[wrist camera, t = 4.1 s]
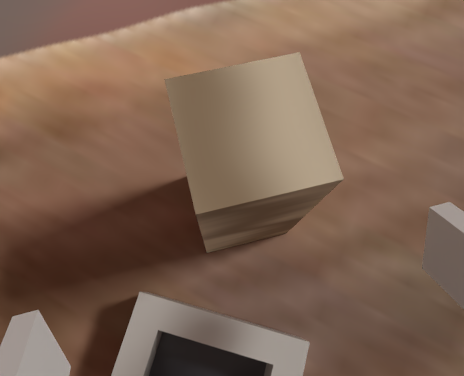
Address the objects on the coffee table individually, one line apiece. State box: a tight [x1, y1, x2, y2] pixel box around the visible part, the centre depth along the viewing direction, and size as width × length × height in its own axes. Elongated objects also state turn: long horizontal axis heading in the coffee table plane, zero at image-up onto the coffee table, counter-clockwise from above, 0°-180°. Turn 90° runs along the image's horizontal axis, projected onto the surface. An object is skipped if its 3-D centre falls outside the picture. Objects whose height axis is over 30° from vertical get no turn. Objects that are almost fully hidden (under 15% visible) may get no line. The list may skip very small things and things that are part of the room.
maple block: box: [164, 52, 343, 253], centre depth 18 cm, size 5×5×11 cm
